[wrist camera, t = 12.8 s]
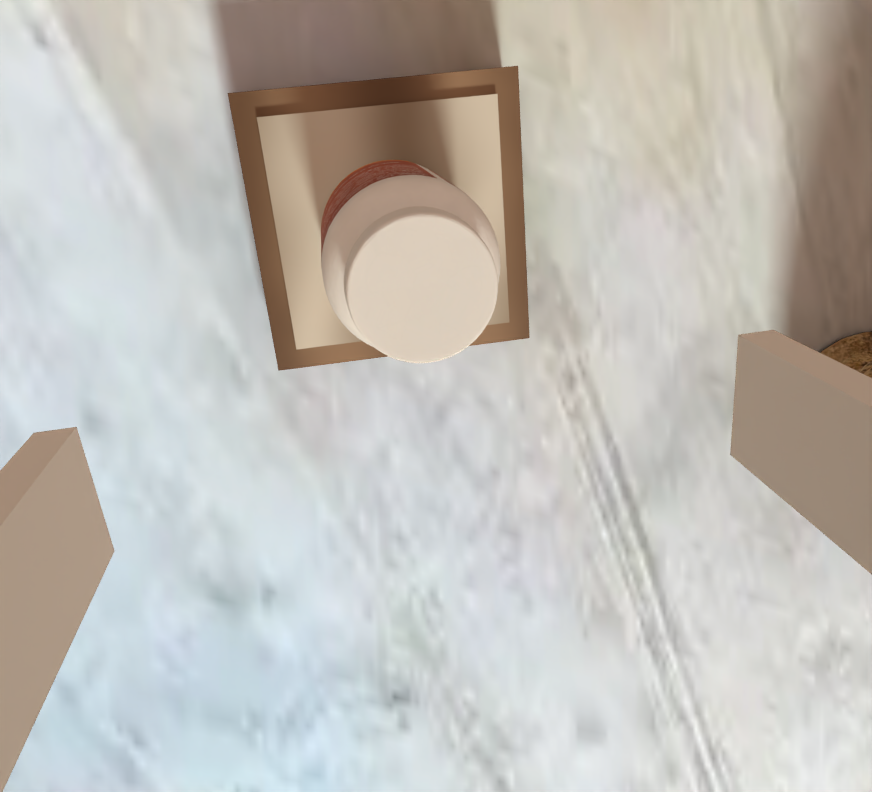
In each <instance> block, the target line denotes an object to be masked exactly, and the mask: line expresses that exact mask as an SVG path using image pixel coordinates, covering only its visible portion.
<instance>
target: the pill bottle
mask: <svg viewBox="0 0 872 792" xmlns="http://www.w3.org/2000/svg"><path fill="white" fill-rule="evenodd" d="M321 268H322V276H323V282H324V287H325V291H326V294H327V297H328V300H329V302H330V304H331V306H332V308H333V310H334V312H335V314H336V315H337V317H338V318H339V319H340V321H341V322H342V323H343V325H344V326H345V327H346V328H347V329H348V330H349V331H350V332H351V333H352V334H353V335H354V336H356V337H357V338H359V339H360V340H362V341H363V342H365V343H366V344H368V345H370V346H372V347H374V348H376V349H377V350H378V351H380V352H382V353H383V354H385V355H387V356H389V357H391V358H394V359H397V360H401V361H405V362H411V363H429V362H435V361H440V360H443V359H445V358H449V357H451V356H453V355H455V354H457V353H459V352H461V351H462V350H464V349H465V348H466V347H468V346H469V345H470V344H472V343H473V342H474V341H475V340H476V339H477V338H478V337H479V335H480V334H481V333H482V332H483V330H484V329H485V327H486V326H487V324H488V322H489V321H490V319H491V317H492V314H493V312H494V309H495V305H496V301H497V294H498V283H499V277H500V252H499V246H498V242H497V238H496V235H495V232H494V230H493V228H492V225H491V223H490V221H489V220H488V218H487V217H486V215H485V214H484V212H483V211H482V209H481V208H480V207H479V206H478V205H477V204H476V203H475V202H474V201H473V200H472V199H471V198H470V197H469V196H468V195H467V194H466V193H464V192H463V191H462V190H460V189H459V188H458V187H456V186H454V185H453V184H451V183H450V182H448V181H446V180H445V179H443V178H442V177H440V176H439V175H437V174H436V173H434V172H433V171H431V170H429V169H427V168H425V167H423V166H421V165H418V164H415V163H412V162H409V161H404V160H382V161H377V162H372V163H369V164H366V165H364V166H362V167H360V168H358V169H356V170H354V171H353V172H351V173H350V174H349V175H347V176H346V177H345V178H344V179H343V180H342V181H341V182H340V183H339V184H338V185H337V187H336V188H335V189H334V191H333V192H332V194H331V196H330V197H329V199H328V202H327V204H326V206H325V209H324V213H323V217H322V222H321Z"/></svg>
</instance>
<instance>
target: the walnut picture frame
mask: <svg viewBox="0 0 872 792" xmlns="http://www.w3.org/2000/svg"><path fill="white" fill-rule="evenodd" d="M228 97H229V102H230V108H231V113H232V119H233V124H234V130H235V135H236V140H237V146H238V151H239V157H240V162H241V168H242V173H243V179H244V184H245V190H246V195H247V200H248V206H249V211H250V217H251V222H252V228H253V233H254V239H255V244H256V250H257V255H258V261H259V266H260V271H261V277H262V282H263V288H264V293H265V299H266V304H267V310H268V315H269V321H270V326H271V331H272V337H273V342H274V348H275V353H276V359H277V364H278V370H286V369H294V368H302V367H310V366H317V365H325V364H333V363H340V362H348V361H356V360H363V359H371V358H379V357H387V355H385V354H383V353H382V352H380V351H378V350H377V349H376V348H374V347H372V346H370V345H368V344H366V343H365V342H363V341H362V340H360V339H359V338H357V337H356V336H354V335H353V334H352V333H351V332H350V331H349V330H348V329H347V328H346V327H345V326H344V325H343V323H342V322H341V321H340V319H339V318H338V317H337V315H336V314H335V312H334V310H333V308H332V306H331V304H330V302H329V300H328V297H327V294H326V291H325V287H324V282H323V276H322V268H321V222H322V217H323V213H324V209H325V206H326V204H327V202H328V199H329V197H330V196H331V194H332V192H333V191H334V189H335V188H336V187H337V185H338V184H339V183H340V182H341V181H342V180H343V179H344V178H345V177H346V176H347V175H349V174H350V173H351V172H353V171H354V170H356V169H358V168H360V167H362V166H364V165H366V164H369V163H372V162H377V161H382V160H404V161H409V162H412V163H415V164H418V165H421V166H423V167H425V168H427V169H429V170H431V171H433V172H434V173H436V174H437V175H439V176H440V177H442V178H443V179H445V180H446V181H448V182H450V183H451V184H453V185H454V186H456V187H458V188H459V189H460V190H462V191H463V192H464V193H466V194H467V195H468V196H469V197H470V198H471V199H472V200H473V201H474V202H475V203H476V204H477V205H478V206H479V207H480V208H481V209H482V211H483V212H484V214H485V215H486V217H487V218H488V220H489V221H490V223H491V225H492V228H493V230H494V232H495V235H496V238H497V242H498V246H499V252H500V277H499V283H498V294H497V301H496V305H495V309H494V312H493V314H492V317H491V319H490V321H489V322H488V324H487V326H486V327H485V329H484V330H483V332H482V333H481V334H480V335H479V337H478V338H477V339H476V340H475V341H474V342H473V343H472V344H470V345H469V346H471V345H479V344H487V343H494V342H502V341H510V340H517V339H525V338H529V317H528V293H527V270H526V246H525V222H524V198H523V174H522V151H521V127H520V103H519V79H518V66H512V67H502V68H491V69H480V70H470V71H459V72H449V73H438V74H427V75H417V76H406V77H395V78H385V79H374V80H364V81H353V82H342V83H332V84H321V85H311V86H300V87H289V88H279V89H268V90H257V91H247V92H236V93H228Z"/></svg>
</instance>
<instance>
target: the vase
mask: <svg viewBox="0 0 872 792" xmlns="http://www.w3.org/2000/svg"><path fill="white" fill-rule="evenodd" d="M821 354H823V355H825V356H827V357H830V358H832V359H834V360H836V361H838V362H840V363H842V364H844V365H846V366H848V367H850V368H852V369H854V370H856V371H858V372H860V373H862V374H864V375H866V376H868V377H870V378H872V332H864V333H860V334H857V335H853V336H850V337H846V338H843V339H841V340H839V341H838V342H836V343H834V344H833V345H831V346H829V347H828V348H826V349H825V350H823V351H822V352H821Z"/></svg>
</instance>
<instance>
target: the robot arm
mask: <svg viewBox="0 0 872 792" xmlns="http://www.w3.org/2000/svg"><path fill="white" fill-rule="evenodd" d="M730 455H731V456H733V457H734V458H735V459H736V460H737V461H738V462H740V463H741V464H742V465H743V466H744V467H746V468H747V469H748V470H749V471H750V472H751V473H753V474H754V475H755V476H756V477H757V478H759V479H760V480H761V481H762V482H763V483H764V484H766V485H767V486H768V487H769V488H770V489H772V490H773V491H774V492H775V493H776V494H777V495H779V496H780V497H781V498H782V499H783V500H784V501H786V502H787V503H788V504H789V505H790V506H792V507H793V508H794V509H795V510H796V511H797V512H799V513H800V514H801V515H802V516H803V517H805V518H806V519H807V520H808V521H809V522H810V523H812V524H813V525H814V526H815V527H816V528H818V529H819V530H820V531H821V532H822V533H823V534H825V535H826V536H827V537H828V538H829V539H831V540H832V541H833V542H834V543H835V544H836V545H838V546H839V547H840V548H841V549H842V550H844V551H845V552H846V553H847V554H848V555H849V556H851V557H852V558H853V559H854V560H855V561H856V562H858V563H859V564H860V565H861V566H862V567H864V568H865V569H866V570H867V571H868V572H869V573H871V574H872V378H870V377H868V376H866V375H864V374H862V373H860V372H858V371H856V370H854V369H852V368H850V367H848V366H846V365H844V364H842V363H840V362H838V361H836V360H834V359H832V358H830V357H827V356H825V355H823V354H821V353H819V352H817V351H815V350H813V349H811V348H809V347H807V346H805V345H803V344H801V343H799V342H797V341H795V340H793V339H791V338H789V337H787V336H785V335H783V334H781V333H779V332H777V331H775V330H769V331H762V332H755V333H748V334H741V335H738V347H737V362H736V377H735V392H734V407H733V422H732V437H731V452H730ZM113 553H114V548H113V545H112V541H111V538H110V535H109V532H108V528H107V525H106V522H105V519H104V515H103V512H102V509H101V506H100V502H99V499H98V496H97V493H96V489H95V486H94V483H93V479H92V476H91V473H90V470H89V466H88V463H87V460H86V457H85V453H84V450H83V447H82V444H81V440H80V437H79V434H78V431H77V427H72V428H65V429H58V430H51V431H44V432H36V433H33V434H32V436H31V437H30V438H29V439H28V440H27V441H26V442H25V443H24V445H23V446H22V447H21V448H20V449H19V450H18V451H17V453H16V454H15V455H14V456H13V457H12V458H11V459H10V460H9V462H8V463H7V464H6V465H5V466H4V467H3V468H2V470H1V471H0V792H3V789H4V787H5V785H6V783H7V781H8V779H9V777H10V774H11V772H12V770H13V768H14V766H15V764H16V761H17V759H18V757H19V755H20V753H21V751H22V749H23V746H24V744H25V742H26V740H27V738H28V736H29V734H30V731H31V729H32V727H33V725H34V723H35V721H36V718H37V716H38V714H39V712H40V710H41V708H42V706H43V703H44V701H45V699H46V697H47V695H48V693H49V691H50V688H51V686H52V684H53V682H54V680H55V678H56V675H57V673H58V671H59V669H60V667H61V665H62V663H63V660H64V658H65V656H66V654H67V652H68V650H69V648H70V645H71V643H72V641H73V639H74V637H75V635H76V632H77V630H78V628H79V626H80V624H81V622H82V620H83V617H84V615H85V613H86V611H87V609H88V607H89V604H90V602H91V600H92V598H93V596H94V594H95V592H96V589H97V587H98V585H99V583H100V581H101V579H102V577H103V574H104V572H105V570H106V568H107V566H108V564H109V561H110V559H111V557H112V555H113Z"/></svg>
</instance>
